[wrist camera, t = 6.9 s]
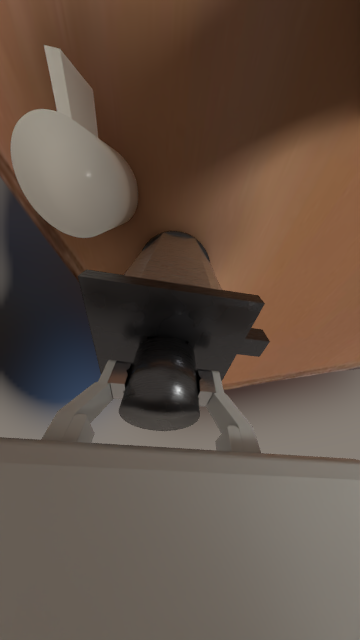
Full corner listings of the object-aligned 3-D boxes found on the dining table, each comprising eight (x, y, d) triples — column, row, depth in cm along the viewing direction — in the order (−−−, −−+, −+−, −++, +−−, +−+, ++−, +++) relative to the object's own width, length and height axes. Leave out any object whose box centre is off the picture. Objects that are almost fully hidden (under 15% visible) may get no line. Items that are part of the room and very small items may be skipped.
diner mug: (137, 109, 17) (104, 42, 10) (138, 229, 23) (119, 243, 16) (56, 91, 16) (-45, 5, 9) (81, 220, 23) (35, 230, 15)
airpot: (139, 295, 30) (99, 386, 15) (139, 224, 23) (68, 267, 8) (215, 306, 31) (244, 399, 17) (238, 241, 24) (320, 305, 10)
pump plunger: (190, 261, 24) (208, 399, 8) (185, 288, 27) (191, 433, 10) (161, 257, 24) (115, 390, 7) (159, 284, 27) (121, 428, 10)
